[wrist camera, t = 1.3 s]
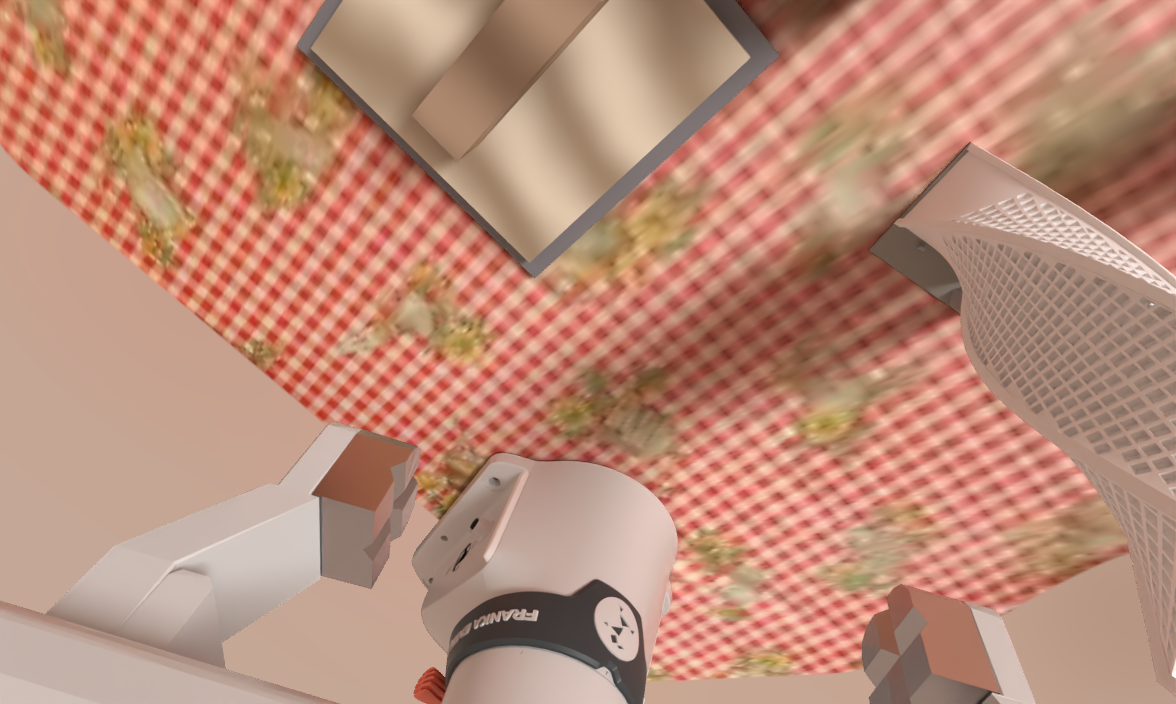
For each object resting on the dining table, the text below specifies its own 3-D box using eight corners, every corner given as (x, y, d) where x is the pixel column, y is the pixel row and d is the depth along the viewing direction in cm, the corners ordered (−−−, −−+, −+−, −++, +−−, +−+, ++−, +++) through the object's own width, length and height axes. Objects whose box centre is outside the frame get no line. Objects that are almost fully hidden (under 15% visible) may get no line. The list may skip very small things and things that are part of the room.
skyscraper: (847, 233, 38) (1048, 721, 14) (964, 104, 33) (1540, 485, 10) (964, 315, 39) (1337, 896, 15) (1092, 200, 35) (1890, 752, 11)
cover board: (533, 256, 41) (513, 288, 37) (320, 46, 37) (272, 57, 33) (749, 55, 33) (752, 68, 29) (511, -237, 29) (478, -265, 25)
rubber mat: (536, 274, 42) (534, 278, 41) (301, 44, 37) (296, 45, 37) (779, 54, 33) (779, 55, 33) (512, -278, 29) (509, -281, 28)
